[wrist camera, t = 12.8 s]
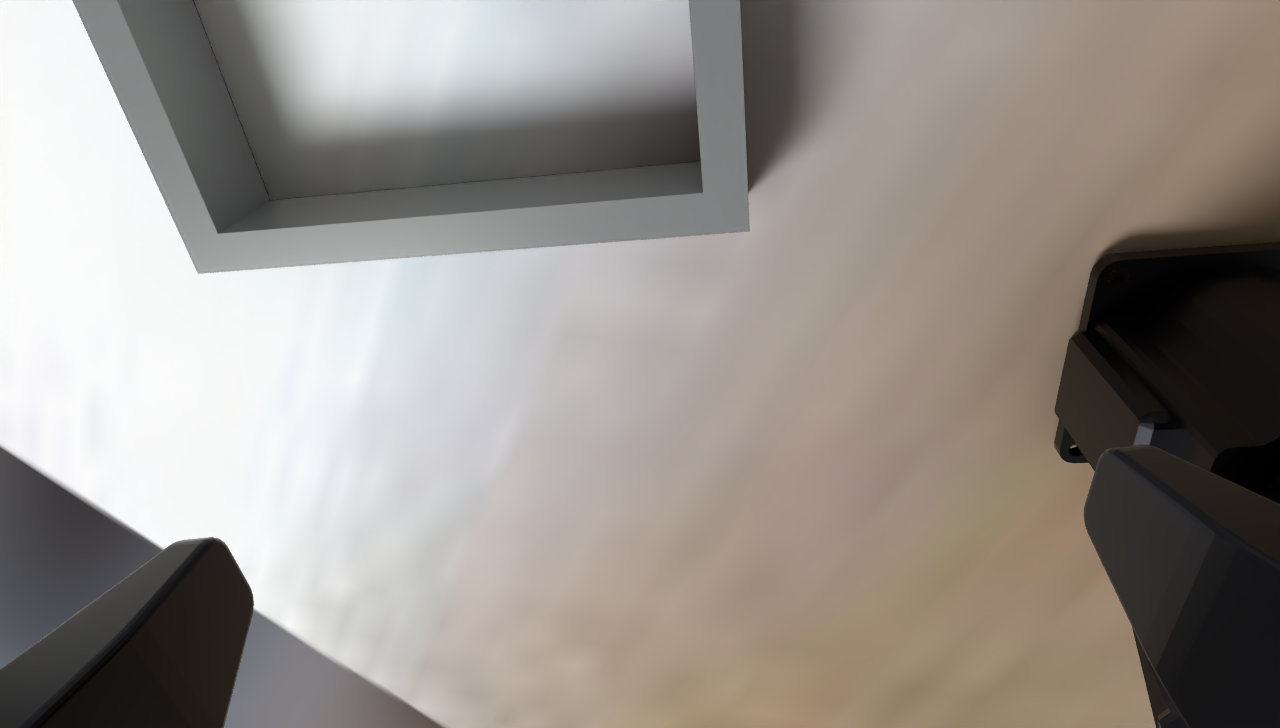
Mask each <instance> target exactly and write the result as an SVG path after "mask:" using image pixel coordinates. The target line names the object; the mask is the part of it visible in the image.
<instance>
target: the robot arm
mask: <svg viewBox="0 0 1280 728" xmlns="http://www.w3.org/2000/svg"><path fill="white" fill-rule="evenodd" d="M1117 269H1122V272H1121V274H1120V276H1118V277H1117V278H1116V279H1113V280H1110V281H1108V280H1107V279H1108V277H1109V275H1110V274H1111V273H1112V272H1113V271H1114V270H1117ZM1055 413H1056V415H1057V416H1058V418H1059V423H1058V427H1057V432H1056V437H1055V441H1054V444H1055V448H1056V450H1057V452H1058V453H1059V455H1060V456H1061V458H1062V459H1063V460H1065V461H1067V462H1070V463H1089V464H1090V465H1091V467H1092V468H1093V470H1094V471H1095V473H1094V477H1093V480H1092V483H1091V486H1090V490H1089V493H1088V496H1087V500H1086V503H1085V507H1084V521H1085V526H1086V529H1087V532H1088V534H1089V536H1090V539H1091V541H1092V543H1093V545H1094V547H1095V549H1096V551H1097V553H1098V555H1099V558H1100V560H1101V562H1102V564H1103V566H1104V568H1105V570H1106V572H1107V574H1108V576H1109V579H1110V581H1111V583H1112V585H1113V587H1114V589H1115V591H1116V593H1117V595H1118V597H1119V600H1120V602H1121V604H1122V606H1123V608H1124V610H1125V612H1126V614H1127V616H1128V619H1129V621H1130V623H1131V625H1132V628H1133V632H1134V636H1135V641H1136V645H1137V649H1138V653H1139V657H1140V662H1141V666H1142V670H1143V674H1144V678H1145V683H1146V687H1147V691H1148V695H1149V699H1150V703H1151V708H1152V712H1153V716H1154V720H1155V724H1156V728H1280V242H1278V243H1263V244H1248V245H1234V246H1219V247H1204V248H1190V249H1175V250H1160V251H1146V252H1131V253H1116V254H1111V255H1107V256H1105V257H1103V258H1102V259H1100V260H1099V261H1098V262H1097V263H1096V264H1095V265H1094V266H1093V268H1092V271H1091V273H1090V278H1089V282H1088V287H1087V292H1086V296H1085V301H1084V306H1083V310H1082V315H1081V320H1080V325H1079V329H1078V331H1077V332H1075V333H1074V335H1073V336H1072V337H1071V338H1070V339H1069V343H1068V348H1067V353H1066V357H1065V362H1064V367H1063V372H1062V377H1061V381H1060V386H1059V391H1058V396H1057V401H1056V405H1055ZM1075 443H1076V444H1077V447H1074V448H1070V446H1072V445H1073V444H1075ZM253 606H254V601H253V594H252V590H251V588H250V586H249V584H248V582H247V580H246V579H245V577H244V575H243V573H242V572H241V570H240V568H239V566H238V564H237V563H236V561H235V559H234V557H233V555H232V554H231V552H230V550H229V548H228V547H227V545H226V544H225V543H224V542H223V541H221V540H220V539H218V538H213V537H209V538H199V539H189V540H182V541H178V542H175V543H173V544H171V545H170V546H168V547H167V548H165V549H164V550H163V551H161V552H160V553H159V554H157V555H156V556H154V557H153V558H152V559H150V560H149V561H148V562H146V563H145V564H143V565H142V566H141V567H139V568H138V569H137V570H135V571H134V572H132V573H131V574H130V575H128V576H127V577H126V578H124V579H123V580H122V581H120V582H119V583H118V584H116V585H115V586H113V587H112V588H110V589H109V590H108V591H106V592H105V593H104V594H102V595H101V596H100V597H98V598H97V599H95V600H94V601H93V602H91V603H90V604H89V605H87V606H86V607H84V608H83V609H82V610H80V611H79V612H77V613H76V614H75V615H73V616H72V617H71V618H69V619H68V620H66V621H65V622H64V623H62V624H61V625H60V626H58V627H57V628H56V629H54V630H53V631H51V632H50V633H49V634H47V635H46V636H44V637H43V638H42V639H40V640H39V641H38V642H36V643H35V644H34V645H32V646H31V647H30V648H28V649H27V650H25V651H24V652H23V653H21V654H20V655H18V656H17V657H16V658H14V659H13V660H12V661H10V662H9V663H8V664H6V665H5V666H3V667H2V668H1V669H0V728H224V724H225V720H226V716H227V712H228V708H229V704H230V701H231V697H232V693H233V689H234V685H235V681H236V677H237V673H238V669H239V666H240V662H241V658H242V654H243V650H244V646H245V642H246V638H247V634H248V630H249V626H250V622H251V618H252V614H253Z"/></svg>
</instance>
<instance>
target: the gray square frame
mask: <svg viewBox="0 0 1280 728" xmlns="http://www.w3.org/2000/svg"><path fill="white" fill-rule="evenodd" d="M73 3H74V5H75V7H76V9H77V11H78V13H79V16H80V18H81V20H82V22H83V24H84V26H85V29H86V31H87V33H88V35H89V37H90V40H91V42H92V44H93V46H94V48H95V50H96V53H97V55H98V57H99V59H100V61H101V63H102V66H103V68H104V70H105V72H106V74H107V77H108V79H109V81H110V83H111V85H112V87H113V90H114V92H115V94H116V96H117V98H118V100H119V103H120V105H121V107H122V109H123V111H124V113H125V116H126V118H127V120H128V122H129V124H130V127H131V129H132V131H133V133H134V135H135V137H136V140H137V142H138V144H139V146H140V148H141V150H142V153H143V155H144V157H145V159H146V161H147V164H148V166H149V168H150V170H151V172H152V174H153V177H154V179H155V181H156V183H157V185H158V187H159V190H160V192H161V194H162V196H163V198H164V200H165V203H166V205H167V207H168V209H169V211H170V214H171V216H172V218H173V220H174V222H175V224H176V227H177V229H178V231H179V233H180V235H181V237H182V240H183V242H184V244H185V246H186V248H187V251H188V253H189V255H190V257H191V259H192V261H193V264H194V266H195V268H196V270H197V272H198V274H200V273H213V272H226V271H239V270H252V269H265V268H278V267H291V266H304V265H317V264H330V263H344V262H357V261H370V260H383V259H396V258H409V257H422V256H435V255H448V254H461V253H474V252H487V251H500V250H513V249H526V248H539V247H552V246H565V245H578V244H591V243H604V242H618V241H631V240H644V239H657V238H670V237H683V236H696V235H709V234H722V233H735V232H748V231H750V226H749V202H748V179H747V155H746V131H745V107H744V83H743V60H742V36H741V12H740V0H689V8H690V22H691V35H692V49H693V62H694V76H695V89H696V103H697V116H698V130H699V143H700V157H701V162H691V163H679V164H668V165H657V166H646V167H635V168H624V169H613V170H602V171H591V172H580V173H569V174H557V175H546V176H535V177H524V178H513V179H502V180H491V181H480V182H469V183H458V184H447V185H436V186H424V187H413V188H402V189H391V190H380V191H369V192H358V193H347V194H336V195H325V196H314V197H302V198H291V199H280V200H270V199H269V197H268V194H267V192H266V189H265V186H264V184H263V181H262V179H261V176H260V173H259V171H258V168H257V166H256V163H255V160H254V158H253V155H252V153H251V150H250V147H249V145H248V142H247V140H246V137H245V134H244V132H243V129H242V127H241V124H240V121H239V119H238V116H237V114H236V111H235V108H234V106H233V103H232V100H231V98H230V95H229V93H228V90H227V87H226V85H225V82H224V80H223V77H222V74H221V72H220V69H219V67H218V64H217V61H216V59H215V56H214V54H213V51H212V48H211V46H210V43H209V41H208V38H207V35H206V33H205V30H204V28H203V25H202V22H201V20H200V17H199V15H198V12H197V9H196V7H195V4H194V2H193V0H73Z"/></svg>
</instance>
